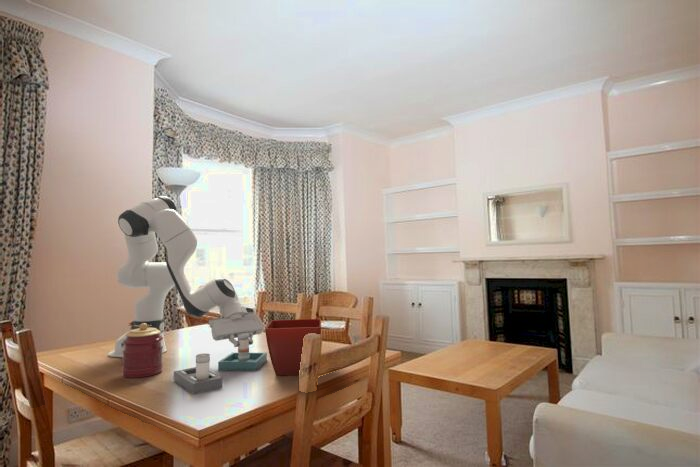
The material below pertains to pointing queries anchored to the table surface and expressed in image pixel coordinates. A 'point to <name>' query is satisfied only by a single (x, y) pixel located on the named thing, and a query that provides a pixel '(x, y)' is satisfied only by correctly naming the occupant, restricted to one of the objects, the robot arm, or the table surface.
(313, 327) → the plant pot
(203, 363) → the fuse
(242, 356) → the grey capped cylinder
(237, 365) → the tray
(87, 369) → the table surface
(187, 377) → the fuse block
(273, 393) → the table surface
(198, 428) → the table surface
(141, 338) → the canister
